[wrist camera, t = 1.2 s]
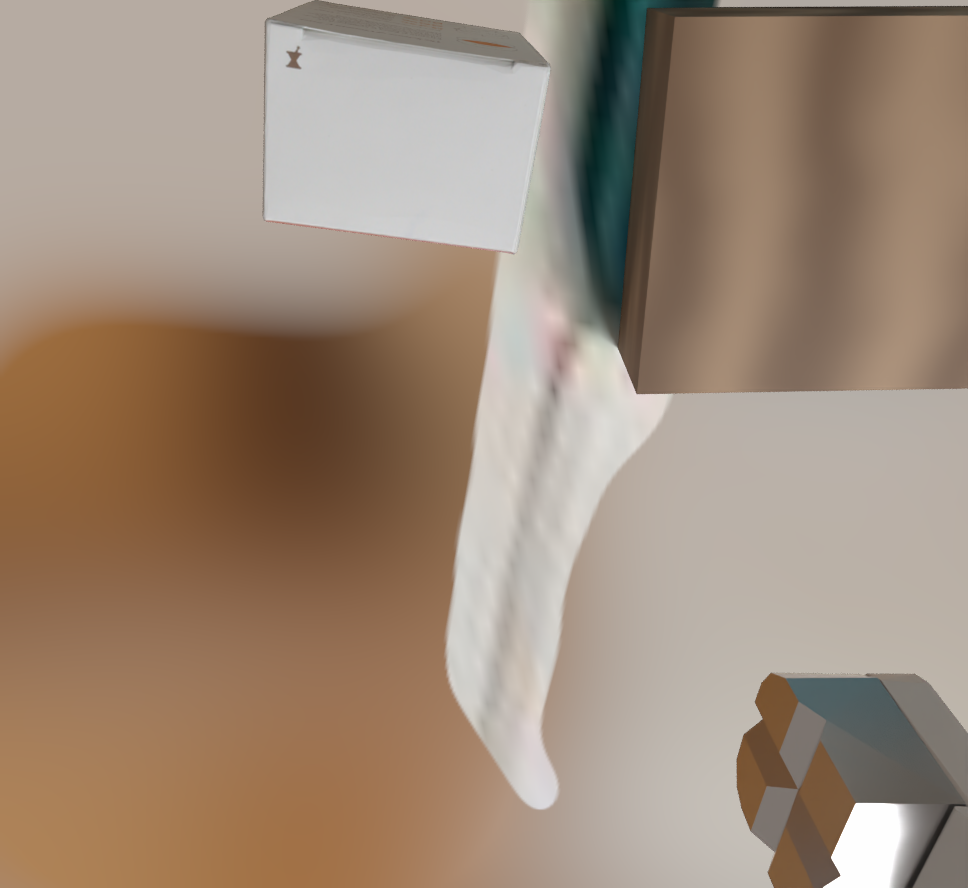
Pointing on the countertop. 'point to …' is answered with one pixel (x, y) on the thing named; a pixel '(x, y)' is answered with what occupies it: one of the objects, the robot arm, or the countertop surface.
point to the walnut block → (799, 201)
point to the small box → (400, 125)
